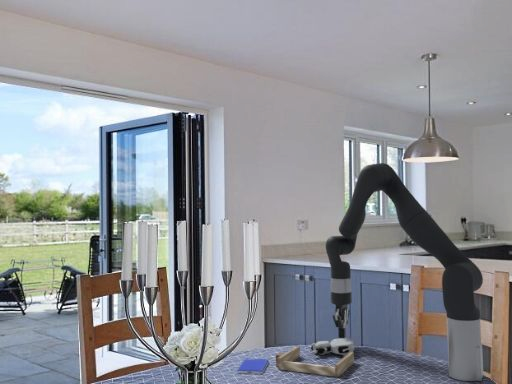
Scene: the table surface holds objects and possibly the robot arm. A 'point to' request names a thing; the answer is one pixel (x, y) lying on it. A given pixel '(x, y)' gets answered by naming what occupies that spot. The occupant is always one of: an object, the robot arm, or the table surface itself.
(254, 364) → the hard drive
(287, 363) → the wooden tray
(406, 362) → the table surface
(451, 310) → the robot arm
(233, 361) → the table surface
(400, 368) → the table surface
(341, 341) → the robot toy
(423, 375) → the table surface
